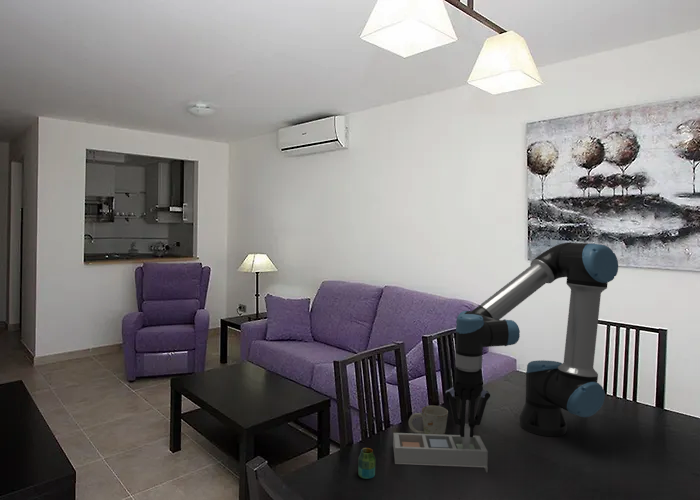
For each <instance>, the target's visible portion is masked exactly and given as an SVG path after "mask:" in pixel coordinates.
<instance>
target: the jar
mask: <svg viewBox="0 0 700 500" xmlns="http://www.w3.org/2000/svg"><path fill="white" fill-rule="evenodd" d="M359 453H360V454H359V456H358V459H357V460H358V461H357V463H358V465H357V466H358V471H357V472H358V477H360V478H361V479H364V480H365V479H366V480H368V479H372V478H374V477H375V475H376V456H375V454H374V453H375V452H374V449H372V448H369V447H363V448H362V449H360V452H359Z"/></svg>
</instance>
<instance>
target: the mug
mask: <svg viewBox="0 0 700 500" xmlns="http://www.w3.org/2000/svg"><path fill="white" fill-rule="evenodd" d="M448 416H449V411H448V409H447V408H445V407H443V406H440V405H426V406H423V407H422V408H421V412H417V413H415V412H414V413H412V414H411V415H410V417H409V418H408V427H409V429H410V430H412V432H414V434H441V435H446V430H447V423H448ZM416 418H422V426H423V430H417V429H416V428H415V427H414V425H413V421H414V419H416Z"/></svg>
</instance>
